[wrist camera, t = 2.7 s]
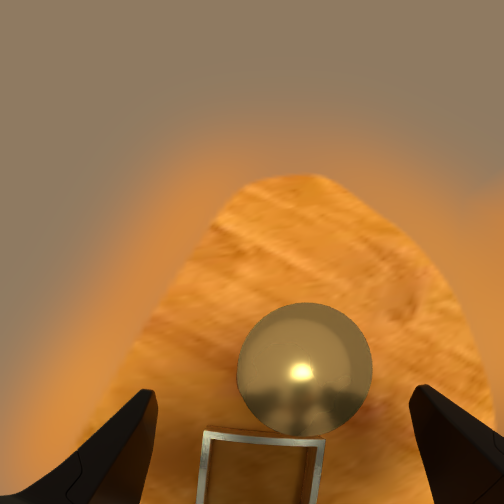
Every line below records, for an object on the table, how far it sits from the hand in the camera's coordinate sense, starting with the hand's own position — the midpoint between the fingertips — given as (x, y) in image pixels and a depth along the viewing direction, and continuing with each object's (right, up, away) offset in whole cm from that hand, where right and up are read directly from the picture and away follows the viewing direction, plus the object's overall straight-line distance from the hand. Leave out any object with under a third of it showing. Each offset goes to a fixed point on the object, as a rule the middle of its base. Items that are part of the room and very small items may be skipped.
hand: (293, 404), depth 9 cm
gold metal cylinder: (0, -3, +8) cm, 9 cm away
